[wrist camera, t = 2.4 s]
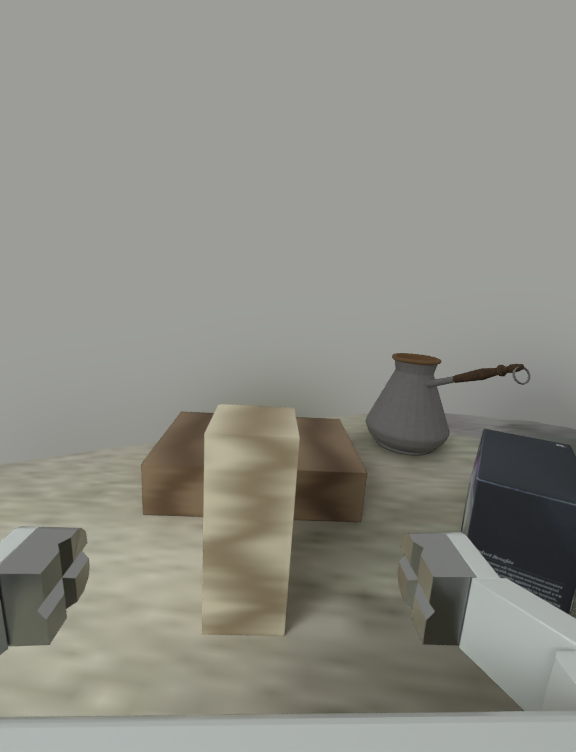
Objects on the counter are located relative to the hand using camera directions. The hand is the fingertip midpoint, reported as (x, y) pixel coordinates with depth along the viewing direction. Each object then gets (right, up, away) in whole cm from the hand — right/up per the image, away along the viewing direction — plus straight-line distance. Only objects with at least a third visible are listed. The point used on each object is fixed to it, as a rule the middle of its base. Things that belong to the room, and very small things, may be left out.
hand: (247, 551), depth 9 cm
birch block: (-2, -11, +15) cm, 18 cm away
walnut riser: (-2, -7, +31) cm, 31 cm away
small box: (+17, -12, +18) cm, 27 cm away
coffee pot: (+20, -7, +39) cm, 44 cm away
